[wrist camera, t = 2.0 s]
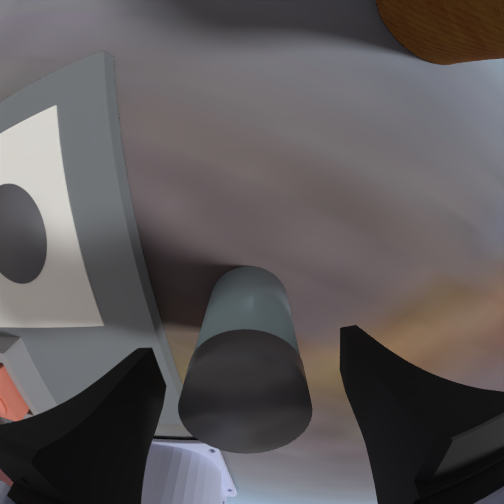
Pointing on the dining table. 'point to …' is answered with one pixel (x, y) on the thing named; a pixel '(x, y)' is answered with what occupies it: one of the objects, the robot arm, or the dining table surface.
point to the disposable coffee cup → (447, 28)
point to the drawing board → (71, 242)
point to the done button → (10, 398)
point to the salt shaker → (246, 368)
